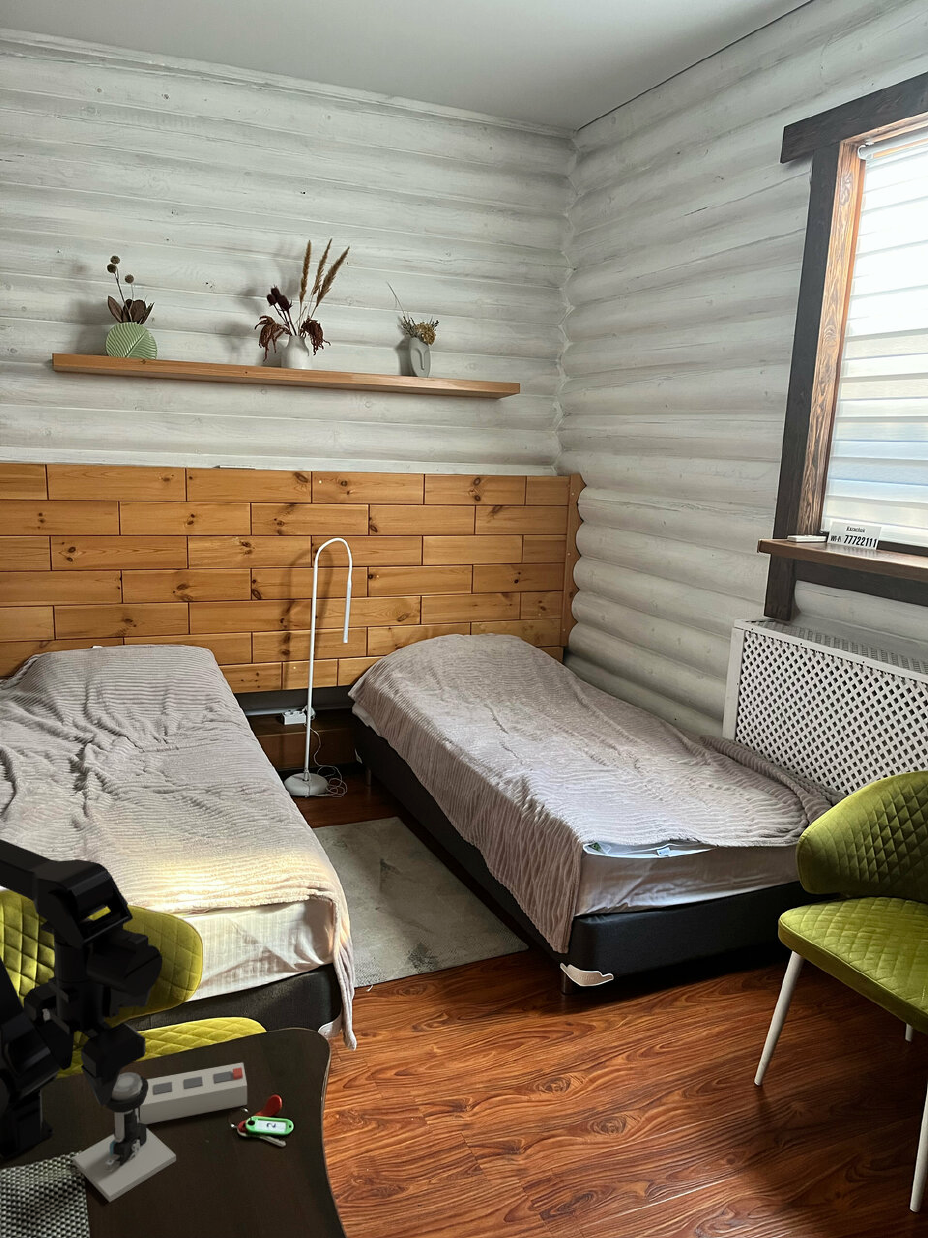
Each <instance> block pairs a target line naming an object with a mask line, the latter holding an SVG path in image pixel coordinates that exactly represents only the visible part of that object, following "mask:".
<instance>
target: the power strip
mask: <svg viewBox="0 0 928 1238" xmlns="http://www.w3.org/2000/svg"><path fill="white" fill-rule="evenodd" d="M244 1065H245V1064H244V1062H238V1063H231V1064H227V1065H221V1066H215V1067H209V1068H204V1069H199V1070H195V1071H194V1070H193V1071H187V1072H182V1073H177V1074H171V1075H165V1076H160V1077H154V1078H148V1079H146V1080H147V1081H148V1092H147V1096H146V1098H145V1100H144V1102H143V1104H142V1105H141V1106H139V1121H140V1122H141V1123H144V1124H146V1125H149V1124H154V1123H158V1122H164V1121H170V1120H175V1119H180V1118H185V1117H190V1116H195V1115H201V1114H205V1113H210V1112H216V1111H221V1110H226V1109H232V1108H237V1107H241V1106H246V1105H247V1106H248V1083H247V1077H246V1073H245V1072H246V1071H245V1066H244Z"/></svg>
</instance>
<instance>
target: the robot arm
mask: <svg viewBox="0 0 928 1238" xmlns="http://www.w3.org/2000/svg"><path fill="white" fill-rule="evenodd" d="M0 887H1V888H5V889H7V890H9V891H11V892H14V893H16V894H17V895H21V896H23V897H24V898H28V900H30V901H31V902H33V906H34V909H35V913H36V914H37V915H38V916H40V917H41V918H43V919H45V920H46V921H45V922H44V923H42V924H41V925H40V930H41V931H43V932H45V933H48V934H51V935H53V952H54V953H53V955H54V976H51V977H50V978H48V979H47V980H48V981H47V982H44V983H42V984H40V985H38V986H35V987H33V988H31V989H29V990H28V992H27V993H26V994H25V996H24V997H23V1001H21V999H20V996H19V994H18V992H17V989H16V988H15V986H14V983H13V981H12V979H11V976H10V975H9V972H8V970H7V968H6V965H5V963H4V961H3V958H2V956H1V955H0V1157H1V1159H2V1160H4V1161H5V1160H8V1159H10V1158H12V1157H14V1156H16V1155H18V1154H20V1153H21V1152H23V1151H25V1150H27V1149H29V1148H31V1147H32V1146H34V1145H35V1146H36V1144H38V1143H40V1142H42V1141H43V1140H46V1139H47V1138H49V1137H50V1136H53V1135H54V1133H55V1129H54V1128H53V1126H52V1125H50V1124H49V1123H48V1122H47V1121H46V1120H45V1118H44V1117H43V1105H42V1102H43V1101H42V1089H43V1088H45V1087H46V1086H47V1085H49V1084H50V1083H52V1082H55V1081H56V1080H57V1077H58V1074H59V1072H60V1070H62V1071H65V1070H67V1069H70V1068H71V1067H72V1062H73V1057H74V1056H73V1053H74V1044H75V1043H74V1042H75V1033H77V1032H79V1033H82V1034H84V1035H85V1036H86V1037H87V1038H88V1039H87V1040H86V1042H85V1043H84V1045H83V1046H82V1048H81V1049H80V1058H81V1062H82V1065H80V1067H81V1071H82V1072H83V1075H84V1077H85V1078H86V1081H87V1082H88V1085H89V1087H90V1089H91V1091H92V1094H93V1096H94V1097H95V1099H96V1101H97V1102H98V1105H99V1106H101V1107H102V1106H104V1105H106V1103H108V1102H109V1100H110V1098H111V1095H112V1092H113V1089H114V1087H115V1084H116V1081H117V1078H118V1076H119V1075H120V1074H121V1071H122V1070H123V1068H124V1067H126V1066H129V1065H130V1064H132V1063H134V1062H136V1061H139V1060H140V1059H142V1058H143V1057H145V1055H146V1051H147V1050H146V1037H144V1036H143V1035H142V1034H141V1033H139V1032H138V1031H137V1030H136V1029H135V1028H134V1027H133V1026H132V1025H129V1024H127V1023H125V1022H121V1023H119V1024H117V1025H115V1026H111V1025H110V1024H109V1023H107V1022H106V1020H105V1019H107V1018H108V1019H112V1018H114V1017H116V1016H119V1015H120V1009H122V1008H123V1009H124V1008H132V1007H139V1008H144V1007H146V1006H147V1004H148V1001H149V997H150V994H151V990H152V988H153V986H154V985H155V984H156V982H157V980H158V979H159V976H160V975H161V974H160V973H161V971H162V967H163V955H162V954H161V951H160V949H159V948H158V947H156V946H154V945H152V944H149V936H148V935H146V934H144V933H139V932H133V931H131V930H129V929H128V930H127V929H125V928H124V925H125V924H127V923H129V922H130V921H132V920H133V919H134V918H133V917H134V916H133V914H132V912H131V910H130V908H129V907H128V905H129V903H128V901H127V900H126V897H124V895H123V894H122V892H121V891H120V889H119V887H118V885H117V883H116V882H115V880H114V878H113V876H112V874H111V873H110V872H109V870H108V869H107V868H106V867H105V866H104V865H102V864H101V863H99V862H96V861H89V860H84V859H68V860H55V859H50V858H48V857H47V856H44V855H41V854H39V853H36V852H33V851H31V850H29V849H26V848H23V847H21V846H19V845H16V844H13V843H11V842H9V841H6V840H4V839H1V838H0ZM106 908H107V909H108V910H109V912H106V913H105V914H102V915H101V916H100V917H98V918H95V919H92V918H89V917H91V916H93V915H95V914H96V913H98V912H100V911H102V910H104V909H106ZM22 1002H23V1003H22Z"/></svg>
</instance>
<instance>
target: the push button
mask: <svg viewBox="0 0 928 1238" xmlns="http://www.w3.org/2000/svg"><path fill="white" fill-rule="evenodd" d="M147 1080H148V1079H146V1077H144V1076H141V1075H139V1074H138V1073H135V1072H123V1073H119V1076H118V1078H117V1081H116V1084H115V1087H114V1089H113V1092H112V1095H111V1098H110V1100H109V1102H108V1103H106V1104H105V1106H106V1108H107V1109H108V1110H110V1111H112V1112H114V1127H113V1134H114V1137H115V1139H114V1141H112V1142H111V1144H110V1158H109V1160H108V1161H107V1162H106V1164H107V1165H109V1166H108V1167H107V1168H106V1171H109V1172H111V1171H112V1170H113V1169H114V1168H115V1166H118V1164H119V1165H124V1163H125V1162H126V1161H127V1160H128V1159H129V1158H130V1156H131V1155H132V1154H133V1153H134V1155H135V1156H136V1155H137V1154H138V1152H139V1151H140V1145H144V1144H145V1142H146V1140H147V1130H146V1128H147V1124H144V1123H140V1122H139V1121H140V1117H139V1108H140V1106H141V1105H142V1104H143V1102H144V1100H145V1098H146V1096H147V1092H148V1081H147ZM137 1148H138V1151H137V1152H136V1150H137ZM109 1161H110V1162H109ZM109 1167H112V1168H111V1169H109Z"/></svg>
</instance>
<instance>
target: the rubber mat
mask: <svg viewBox="0 0 928 1238" xmlns="http://www.w3.org/2000/svg"><path fill="white" fill-rule="evenodd" d="M139 1122H140V1120H139ZM140 1123H141V1122H140ZM146 1130H147V1140H146V1142H145V1144H144V1145H140V1151H139V1152H138V1154H137V1155H136V1156H135V1155H134V1153H133V1154H132V1155H131V1156H130V1158H129V1159H128V1160H127V1161H126V1162H125V1163H124V1165H119V1164H118V1166H115V1168H114V1169H113V1170H112V1171H111V1172H109V1171H106V1168H107V1167H108V1166H109V1165H107V1164H106V1162H107V1161H108V1160H109V1158H110V1144H111V1142H112V1141H114V1139H115V1137H114V1133H113V1134H111V1135H109V1136H107V1137H106V1138H104V1139H102V1140H101V1141H99V1142H97V1143H95V1144H93V1145H91V1146H90V1147H89V1148H87V1149H85V1150H84V1151H82V1152H79V1153H77V1154H76V1155H74V1156H72V1163H73V1164H74V1166H75V1167H76V1168H77V1169H78V1170H79V1171H80V1172H81V1173H82V1174H83V1175H84V1176H85V1177H86V1178H87V1180H88V1181H89V1182H90V1183H91V1184H93V1186H94V1187H95V1188H96V1189H97V1191H99V1192H100V1193H101V1195H102V1196H103V1197H104V1198H105V1199H106V1200H107V1201H108V1203H111V1202H112V1201H114V1200H115V1199H117V1198H119V1197H121V1196H122V1195H123V1194H125V1193H127V1192H128V1191H130V1190H133V1188H135V1187H136V1186H138V1185H139V1184H141V1183H143V1182H144V1181H146V1180H148V1179H149V1178H151V1177H153V1176H154V1175H156V1174H157V1173H158V1172H160V1171H162V1170H164V1169H165V1168H167V1167H168V1166H170V1165H171V1164H173V1163H175V1162H176V1161H177V1155H176V1153H174V1152H173V1151H172V1150H171V1149H170V1148H169V1147H168V1145H165V1143H163V1142H162V1141H161V1140H160V1139H159V1138H158V1137H157V1136H156V1135H155V1134H154V1133H153V1132H152V1131H151V1130H149V1128H147V1127H146ZM137 1151H138V1148H137V1150H136V1152H137ZM109 1162H110V1161H109ZM111 1168H112V1167H109V1169H111Z"/></svg>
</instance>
